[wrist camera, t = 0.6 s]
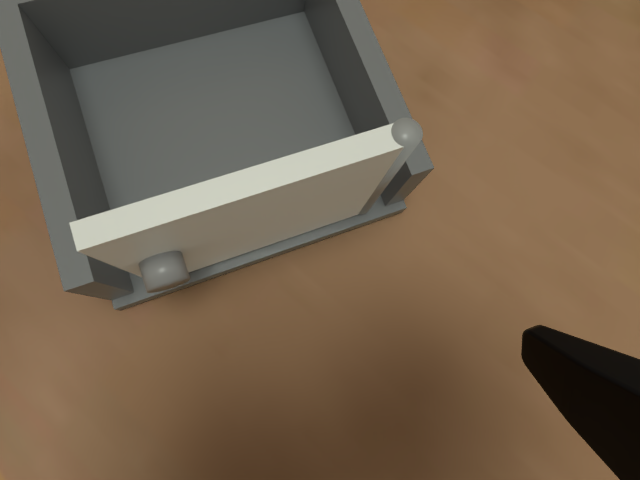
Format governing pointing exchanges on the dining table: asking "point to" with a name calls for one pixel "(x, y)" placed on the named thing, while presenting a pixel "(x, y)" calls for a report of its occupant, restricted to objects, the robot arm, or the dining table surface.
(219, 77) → the grey open box
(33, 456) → the dining table surface
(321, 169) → the side door
